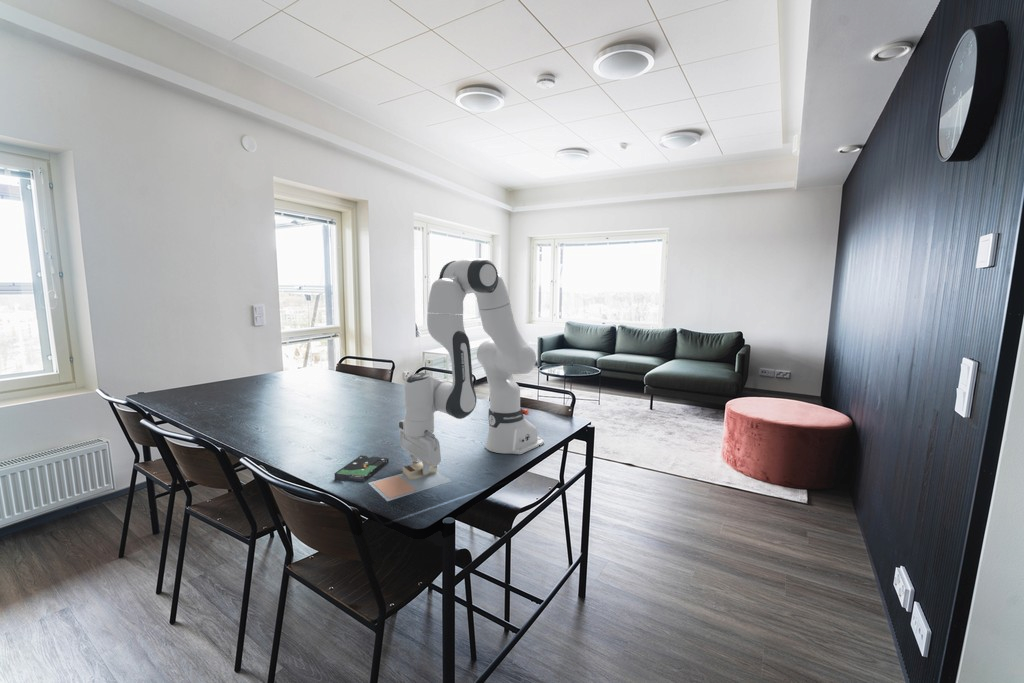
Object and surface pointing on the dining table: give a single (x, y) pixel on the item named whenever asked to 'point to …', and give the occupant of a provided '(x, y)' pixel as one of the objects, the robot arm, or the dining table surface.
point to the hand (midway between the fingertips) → (420, 470)
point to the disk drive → (361, 468)
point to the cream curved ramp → (417, 471)
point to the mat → (406, 485)
